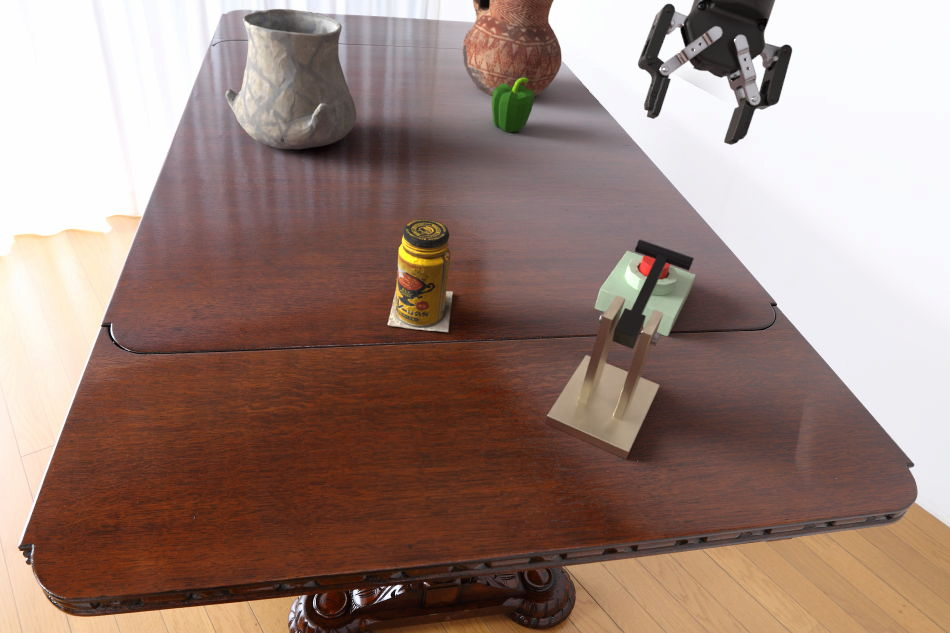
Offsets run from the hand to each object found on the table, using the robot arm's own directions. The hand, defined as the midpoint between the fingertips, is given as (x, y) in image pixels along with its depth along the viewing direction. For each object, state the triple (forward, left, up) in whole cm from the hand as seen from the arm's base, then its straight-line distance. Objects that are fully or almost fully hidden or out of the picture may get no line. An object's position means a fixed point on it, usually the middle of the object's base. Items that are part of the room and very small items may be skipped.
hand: (692, 129), depth 69 cm
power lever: (+6, +7, -15) cm, 18 cm away
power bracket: (+9, +10, -27) cm, 30 cm away
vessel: (+26, -66, -27) cm, 77 cm away
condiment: (+22, -12, -27) cm, 38 cm away
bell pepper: (-17, -65, -27) cm, 73 cm away
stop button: (-8, -6, -23) cm, 25 cm away
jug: (-27, -86, -27) cm, 94 cm away
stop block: (-8, -6, -27) cm, 29 cm away
